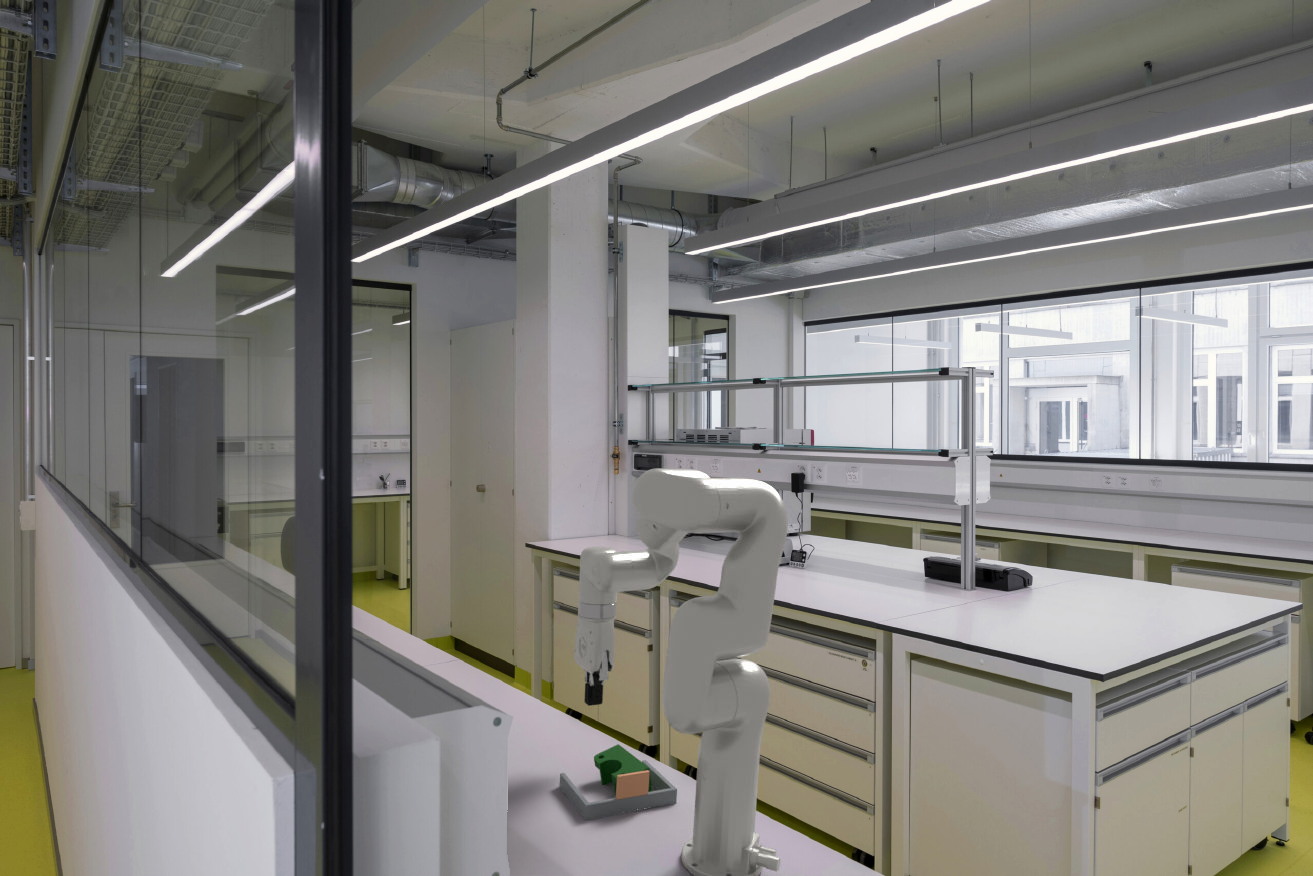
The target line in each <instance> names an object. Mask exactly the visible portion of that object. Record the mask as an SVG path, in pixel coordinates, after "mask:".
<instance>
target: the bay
mask: <svg viewBox="0 0 1313 876" xmlns="http://www.w3.org/2000/svg"><path fill="white" fill-rule="evenodd" d="M641 762H642V763H644V764H645V765H646V766H648V767H649V771H650V772H649V771H648V770H646V771H640V772H634V773H628V774H622V775H617V786H616V797H614V798H613V797H611V798H608V799H607V798H605V799H603V800H602V799H601V800H596V801H589V800H587V799H586V797H585V796H584V795H583V794H582V793H581V791H580V790H579V789H578V787H577V786H576V785H575V784H574V782H573V781H572V780H571V779H570V778H569V777H568V776H567V774H566V773H565V772H561V773H559V786H558V787H559V788H560V790H561V791H562V793H563V794H564V793H565V794H566V795H567V796H566V795H565V794H564V795H565V796H566V797H567V798H568V800H569V801H570V803H571V804H572V805H573V807H574V808H575V809H576V810H577V811H578V813H579V814H580V815H581V817H582V818H583V819H584V820H585V821H588V820H593V819H597V818H598V819H599V818H604V817H609V816H614V815H620V814H619V813H621V814H624V813H623V812H626V813H629V811H631V812H634V811H633V810H637V809H638V810H637V811H640V810H639V809H642V810H645V809H644V808H647V809H652V808H657V806H658V807H662V806H667V805H666V804H668V805H672V804H671V803H674V804H677V797H678V788H677V787H675V785H673V783H671V782H670V780H668V779H667V778H666V777H665V776H664V775H662V773H660V772H659V771H658V770H657V769H656V768H655V767H654V766H653V765H652V764H651V763H649V761H648V760H646V759H642V760H641ZM649 773H650V777H651V784H652V786H653V787H655V789H657V790H652V791H651V792H648V788H649ZM649 807H650V808H649ZM651 807H652V808H651Z"/></svg>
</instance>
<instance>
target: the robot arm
mask: <svg viewBox="0 0 1313 876" xmlns="http://www.w3.org/2000/svg"><path fill="white" fill-rule="evenodd" d="M631 499H632V500H631V501H632V504H633V505H632V506H633V508H634V510H635V511H636V513H637V515H638V516H637V518H636V522H635V529H636V533H637V536H638V537H639V539H640V540H641V542H642V543H643V544H644V546H646V547H647V548H646V549H644V550H625V551H624V550H623V551H617V550H616V549H614V548H610V547H604V546H591V547H589V546H588V547H587V548H584V549H582V551H581V553H580V557H579V559H580V561H579V585H578V605H577V606H578V609H577V624H576V629H575V631H576V632H575V641H574V652H573V653H574V655H573V660H574V663H575V664H577V665H578V666H579V667H580V668H582V669H583V673H584V682H585V684H584V704H585V705H587V706H588V707H590V706H597V705H599V706H600V705H602V704H603V700H604V699H603V698H604V697H603V696H604V685H605V681H607V680H609V672H612V671H613V670H614V666H615V653H616V652H615V649H616V646H615V645H616V644H615V640H616V639H615V624H614V623H615V620H616V619H617V602H618V601H617V600H618V599H617V598H618V597H617V596H618V593H623V592H631V591H643V590H651V589H653V588H655V587H658V586H659V585H660V584H661V583H662V582H664V581H665V580H666V579H667V578H668V577H669V576H670V575H671V574H672V573H673V572H674V570H675V569H676V567H677V565H678V562H679V556H680V544H679V543H680V542H681V541H682V540H683V539H684V538H685V537H686V535H688V534H717V533H722V534H723V533H738V538H736V540H735V541H734V543H733V544H732V545H731V547H730V549H729V550H728V551H727V553H726V556H725V558H724V561H723V562H722V567H721V572H720V573H721V574H720V582H719V586H718V590H717V592H716V593H715V594H714V595H705V596H698V597H697V596H696V597H694V598H691V599H688V600H686V601H685V602H683V603H682V604H681V605H680V606H679V607H678V609H677V610H676V612H675V614H674V615H673V616H672V617H673V618H672V620H671V623H670V628H669V629H670V630H669V634H668V635H669V636H668V641H667V642H668V643H667V648H666V649H667V650H666V659H665V665H664V673H663V681H662V689H661V690H662V691H661V697H662V698H661V700H662V708H663V714H664V715H665V718H666V721H667V723H668V725H670V727H671V728H672V729H674V731H676V732H678V733H681V734H686V735H692V734H700V733H702V735H701V738H700V741H699V746H698V752H697V770H696V781H695V782H696V783H695V799H694V800H695V801H694V813H693V815H694V816H693V817H694V818H693V828H692V829H693V830H692V831H693V832H692V833H693V834H692V838H691V839H689V840H688V841H687V842H686V843H684V845H683V846H682V849H681V861H682V864H683V866H684V868H685V869H687V871H688V872H689V873H690V874H692V875H693V876H759V875H760V874H761V873H762V870H763V868H765V869H766V870H770V871H773V872H777V873H778V872H779V870H780V865H781V857H777V849H775V848H771V847H766V846H763V844H761V843H760V833H757V832H756V831H755V830H756V829H755V828H756V813H757V799H758V784H759V783H758V782H759V770H760V769H759V767H760V757H761V745H762V737H763V730H764V726H765V723H766V719H767V715H768V711H769V707H770V701H771V686H770V681H769V678H768V676H767V674H766V672H765V671H764V670H763V668H762V667H761V666H760V665H758V664H757V663H755V662H754V661H752V660H749V659H746V658H745V659H743V658H741V657H746V656H751V655H753V654H757V653H758V652H760V651H762V650H763V649H764V648H765V646H766V645H767V642H768V639H769V635H770V630H771V624H772V623H771V622H772V617H773V610H774V609H773V608H774V603H775V595H776V589H777V581H778V578H777V577H778V573H779V569H780V568H779V567H780V564H781V560H782V555H783V553H784V549H785V546H786V540H787V537H788V536H787V535H788V531H789V528H788V527H789V518H788V512H787V508H786V504H785V502H784V500H783V499H782V496H781V495H780V493H779V492H778V491H777V490H776V489H775V488H774V487H773V486H772V485H770V484H768V483H767V482H764V481H762V480H758V479H753V478H747V477H746V478H745V477H710V476H709V475H708V474H706V473H704V472H703V471H700V470H697V469H691V468H662V467H661V468H658V467H657V468H651V469H649V470H645V471H644V472H643V473H642V474H641V475H640V476H639V477H638V478H637V480H636V481H635V484H634V486H633V488H632V497H631Z"/></svg>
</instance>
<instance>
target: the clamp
mask: <svg viewBox="0 0 1313 876" xmlns="http://www.w3.org/2000/svg"><path fill="white" fill-rule="evenodd" d="M593 762H594V767H596V768H597V770H599V776H600V781H601V782H600V783H601V786H602V787H605V786H606V785H609V784H612V787H613V791H614V796H616V786H617V775H622V774H628V773H634V772H640V771H646V770H648V771H649V767H648V766H646V765H645V764H644V763H642V760H640V759H638V758H637V757H636V756H634V755H633V754H632V753H631V752H630V751H628V750H627V749H625V748H624V747H623V746H622V745H620V744H616V745H614V746H612V747H610V748H609V747H608V748H607V749H605V750H603V751H601V752H599V753H596V754H595V755H594V756H593ZM649 772H650V771H649ZM604 785H605V786H604ZM651 791H653V784H652V783H651V777H650V773H649V788H648V792H651Z"/></svg>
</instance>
